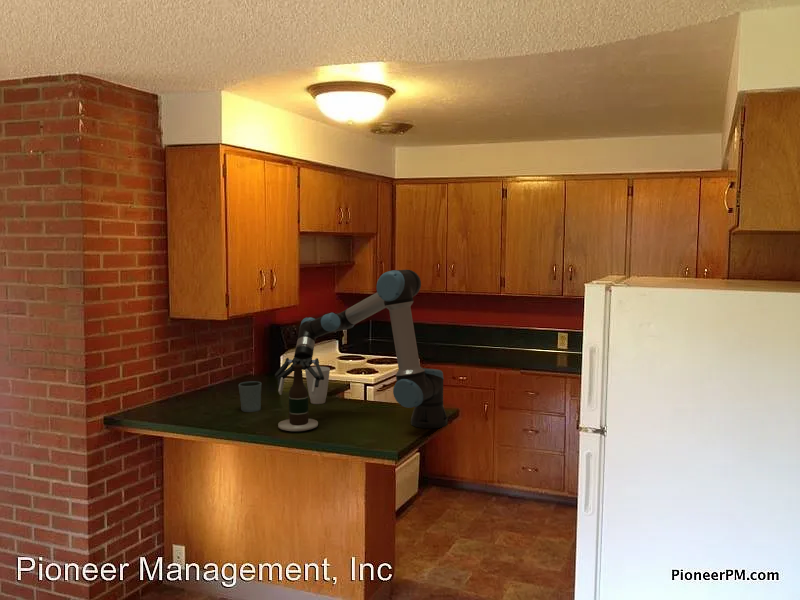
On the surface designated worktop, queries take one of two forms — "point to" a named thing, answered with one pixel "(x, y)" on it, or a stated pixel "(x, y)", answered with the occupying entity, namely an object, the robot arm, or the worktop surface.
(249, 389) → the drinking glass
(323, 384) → the cup
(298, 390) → the beer bottle
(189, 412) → the worktop surface
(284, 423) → the dish
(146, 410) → the worktop surface
